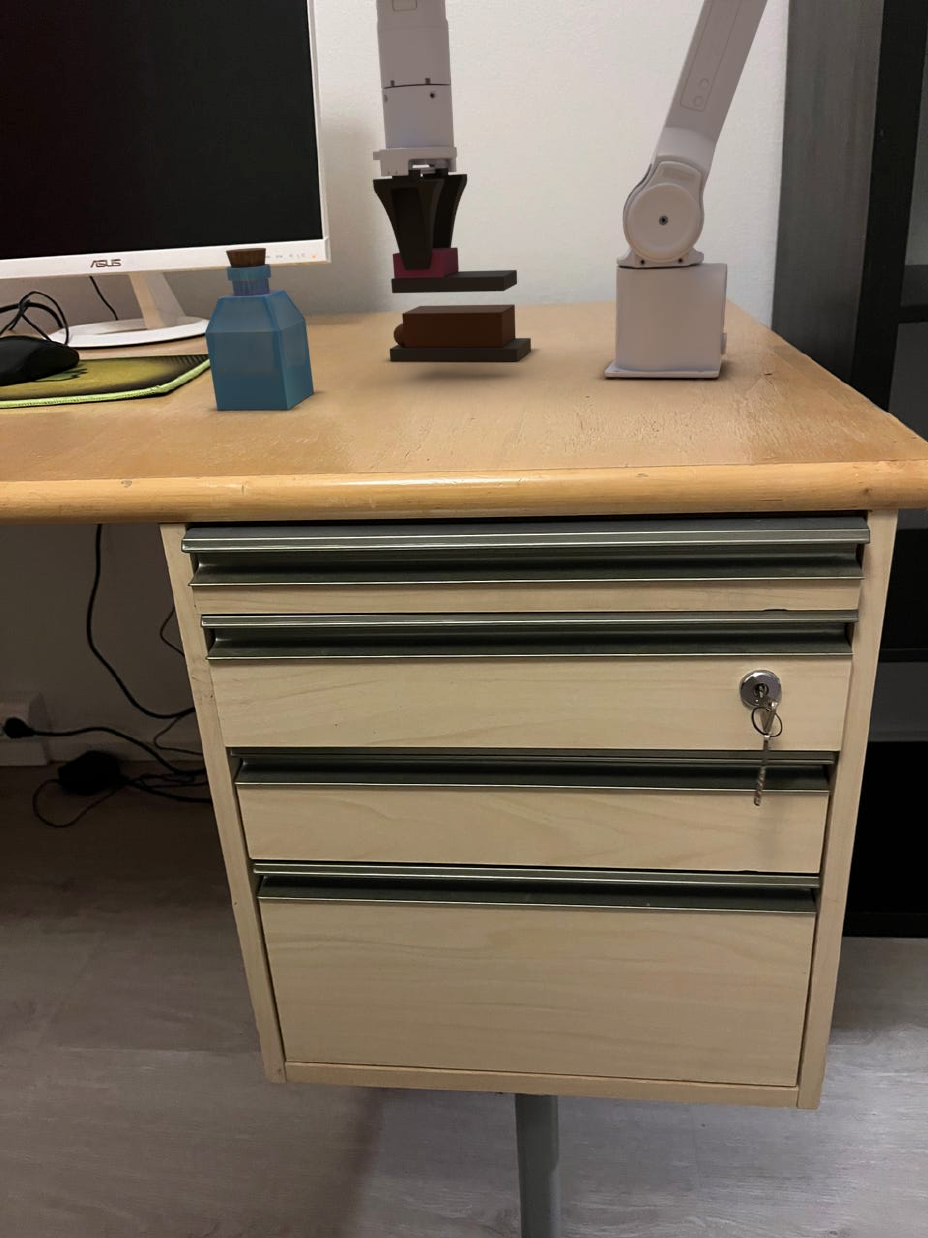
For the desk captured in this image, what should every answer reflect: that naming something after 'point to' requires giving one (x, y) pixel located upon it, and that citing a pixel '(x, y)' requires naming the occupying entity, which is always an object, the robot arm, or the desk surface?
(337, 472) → the desk surface
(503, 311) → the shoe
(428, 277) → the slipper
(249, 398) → the perfume bottle
